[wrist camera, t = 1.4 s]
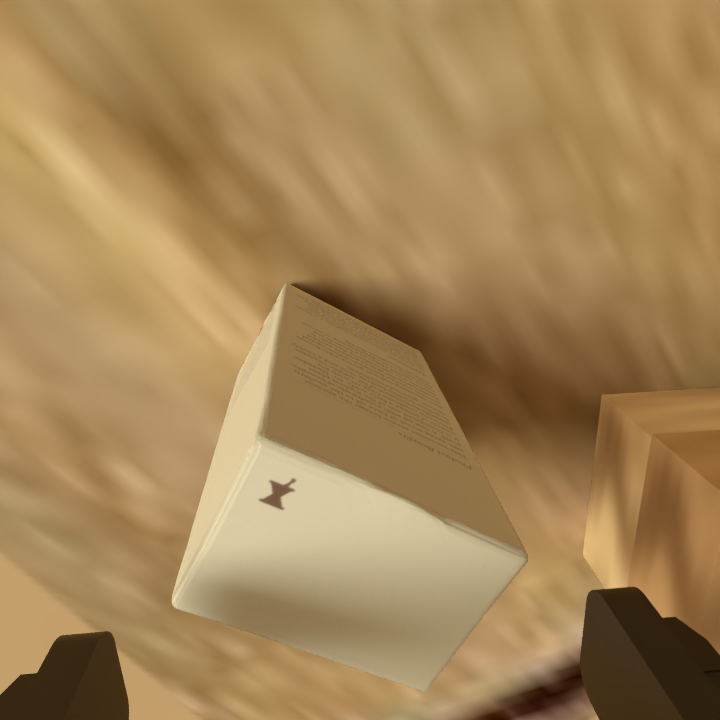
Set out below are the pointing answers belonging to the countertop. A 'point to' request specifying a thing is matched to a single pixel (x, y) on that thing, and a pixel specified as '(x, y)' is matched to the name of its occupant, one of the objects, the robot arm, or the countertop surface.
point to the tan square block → (681, 531)
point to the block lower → (633, 467)
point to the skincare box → (346, 503)
